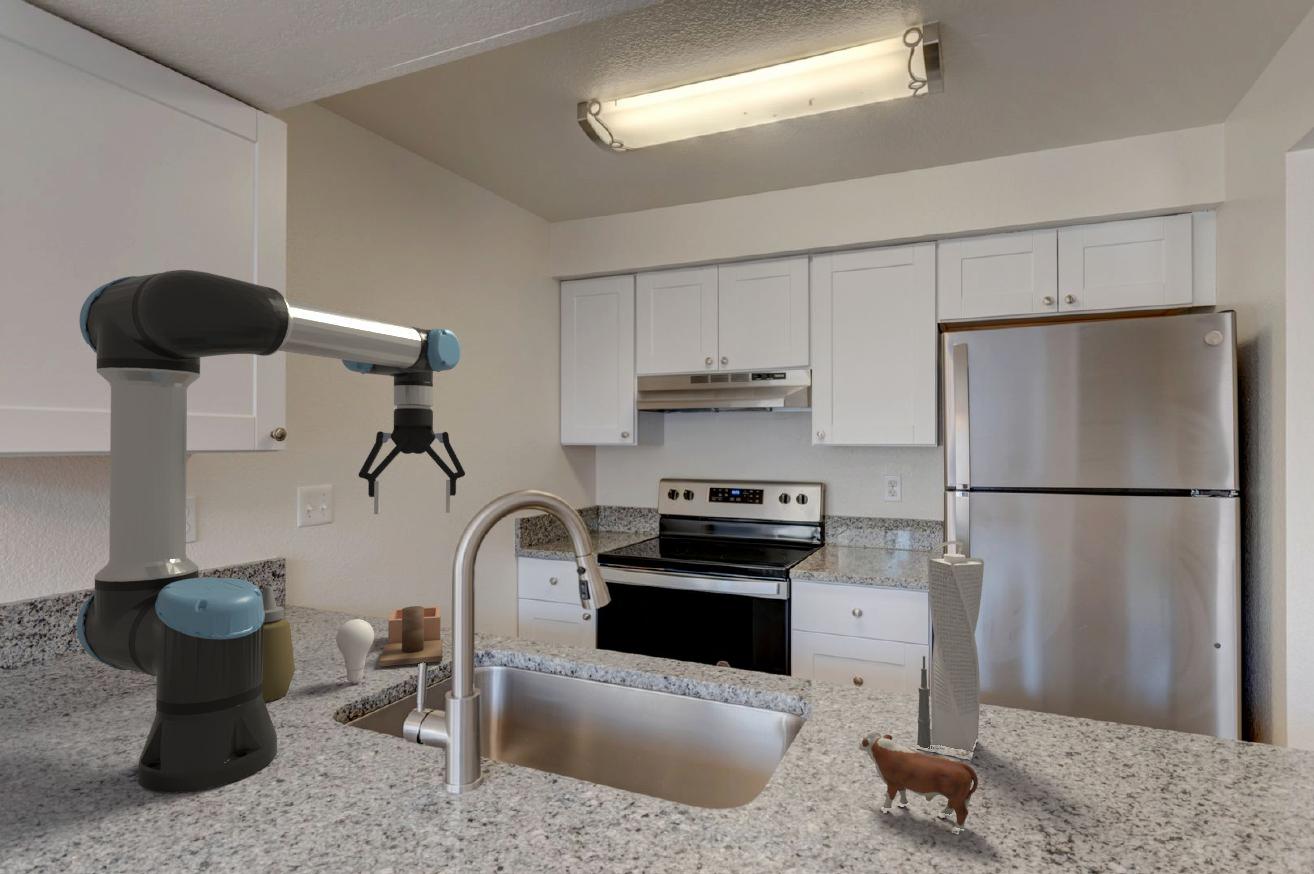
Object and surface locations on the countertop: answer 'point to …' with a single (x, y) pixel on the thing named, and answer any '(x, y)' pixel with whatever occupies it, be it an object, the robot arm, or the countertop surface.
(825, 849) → the countertop surface
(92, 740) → the countertop surface
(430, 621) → the pink open box
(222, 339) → the robot arm
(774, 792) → the countertop surface
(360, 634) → the lightbulb
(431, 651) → the lid
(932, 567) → the skyscraper
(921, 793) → the bull figurine
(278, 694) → the squeeze bottle
